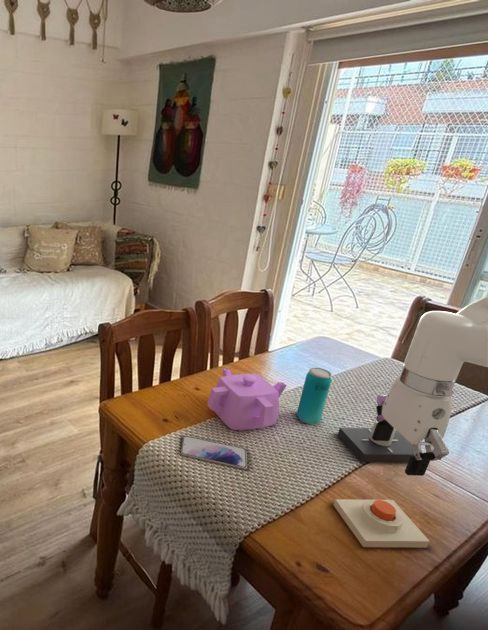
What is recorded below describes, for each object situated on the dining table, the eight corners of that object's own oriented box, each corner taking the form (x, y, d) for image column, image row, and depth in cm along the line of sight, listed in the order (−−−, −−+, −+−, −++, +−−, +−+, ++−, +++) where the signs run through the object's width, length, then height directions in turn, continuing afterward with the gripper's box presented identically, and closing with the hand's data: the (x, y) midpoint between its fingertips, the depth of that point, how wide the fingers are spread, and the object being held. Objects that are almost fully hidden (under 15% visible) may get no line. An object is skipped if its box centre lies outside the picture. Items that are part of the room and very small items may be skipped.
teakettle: (202, 422, 118) (208, 382, 113) (218, 393, 131) (225, 356, 126) (270, 444, 109) (280, 403, 105) (280, 411, 123) (289, 373, 118)
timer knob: (365, 434, 109) (371, 416, 107) (383, 434, 109) (389, 416, 107) (376, 446, 105) (383, 427, 103) (395, 446, 105) (401, 428, 103)
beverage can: (323, 427, 116) (337, 378, 111) (301, 426, 116) (314, 377, 111) (312, 414, 122) (325, 367, 116) (292, 414, 122) (303, 366, 116)
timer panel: (390, 437, 113) (394, 427, 111) (419, 464, 103) (424, 454, 102) (336, 437, 113) (339, 427, 111) (360, 464, 103) (364, 453, 102)
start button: (385, 506, 87) (387, 499, 86) (397, 521, 84) (400, 514, 83) (367, 506, 87) (369, 499, 86) (379, 521, 84) (381, 514, 83)
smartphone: (247, 468, 100) (180, 453, 105) (246, 471, 101) (180, 456, 105) (246, 448, 106) (183, 435, 111) (245, 451, 107) (182, 438, 111)
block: (389, 507, 91) (395, 493, 90) (426, 549, 82) (433, 534, 81) (332, 507, 91) (337, 492, 90) (362, 549, 82) (368, 533, 80)
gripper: (489, 408, 70) (450, 490, 77) (413, 357, 86) (386, 429, 93) (441, 407, 70) (407, 489, 77) (374, 356, 86) (351, 427, 93)
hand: (396, 456), depth 85 cm, fingers open, 9 cm apart
